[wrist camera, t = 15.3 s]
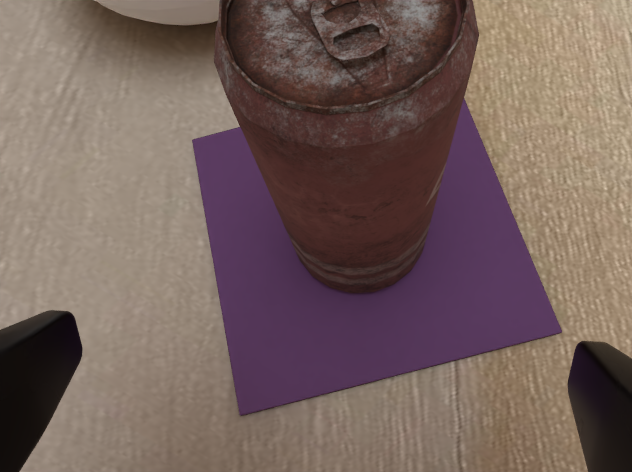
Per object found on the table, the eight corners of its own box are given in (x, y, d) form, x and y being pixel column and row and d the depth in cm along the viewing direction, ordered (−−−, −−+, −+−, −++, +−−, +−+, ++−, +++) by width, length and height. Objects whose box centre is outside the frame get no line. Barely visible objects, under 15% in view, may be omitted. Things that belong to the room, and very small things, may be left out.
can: (336, 151, 26) (297, -137, 13) (449, 214, 24) (539, -46, 11) (264, 247, 24) (135, 35, 11) (378, 322, 22) (383, 173, 9)
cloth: (241, 415, 22) (239, 415, 22) (193, 142, 27) (192, 139, 27) (560, 333, 22) (562, 331, 21) (451, 73, 27) (452, 69, 27)
